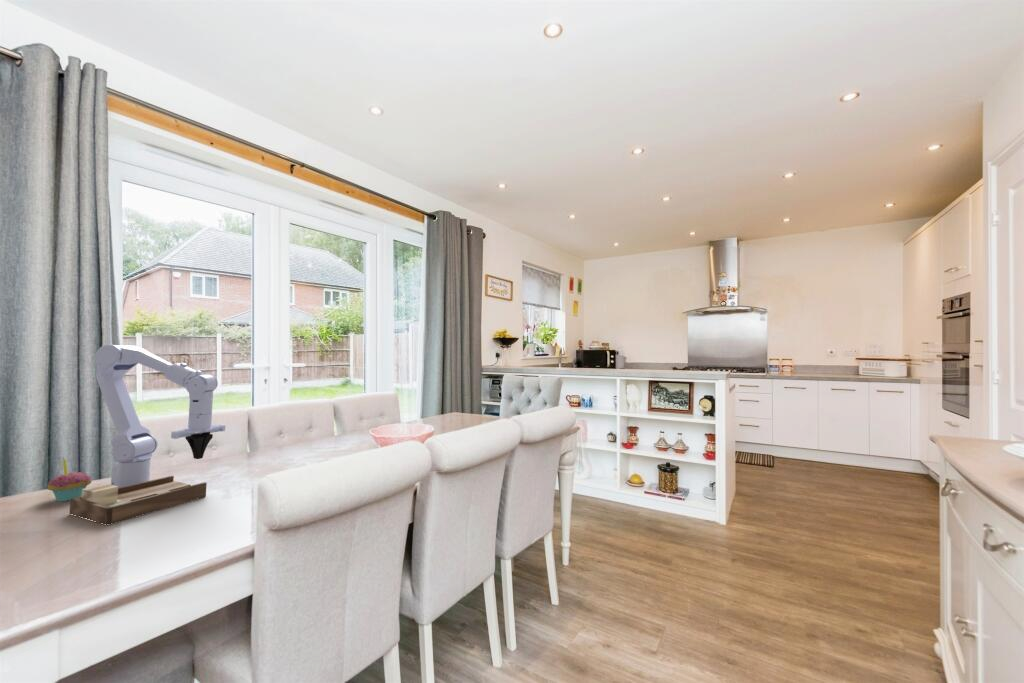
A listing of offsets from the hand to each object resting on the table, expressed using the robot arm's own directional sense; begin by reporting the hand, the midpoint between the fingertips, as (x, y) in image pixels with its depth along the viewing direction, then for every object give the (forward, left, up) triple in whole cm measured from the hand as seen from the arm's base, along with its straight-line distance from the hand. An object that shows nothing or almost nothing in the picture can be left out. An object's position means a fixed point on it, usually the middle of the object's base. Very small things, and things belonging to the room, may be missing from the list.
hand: (198, 458), depth 128 cm
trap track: (+1, -14, -9) cm, 17 cm away
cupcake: (-22, -20, -10) cm, 31 cm away
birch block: (-2, -23, -7) cm, 24 cm away
